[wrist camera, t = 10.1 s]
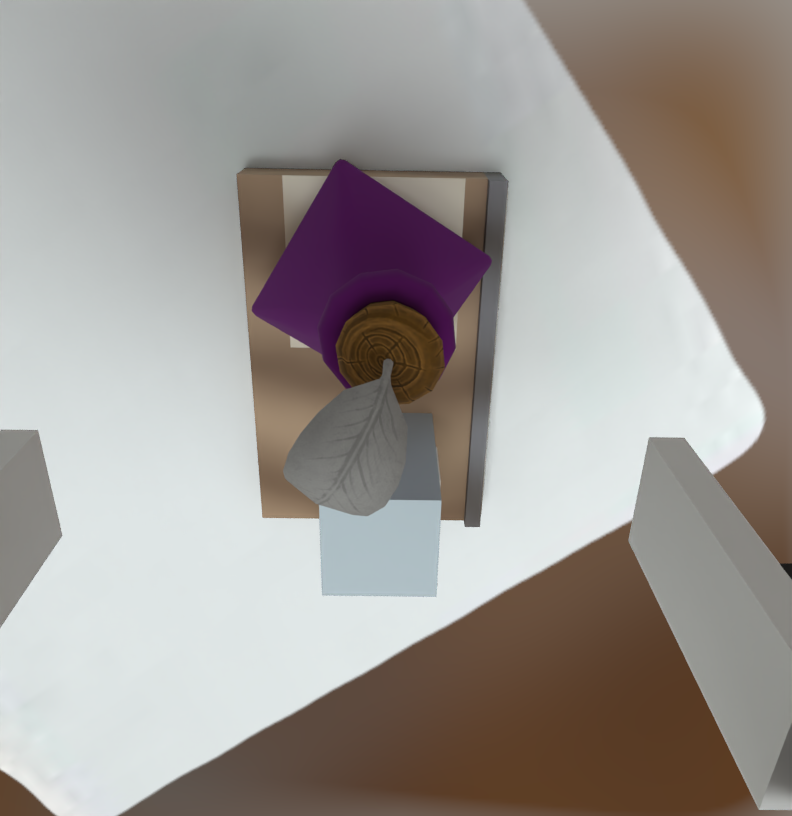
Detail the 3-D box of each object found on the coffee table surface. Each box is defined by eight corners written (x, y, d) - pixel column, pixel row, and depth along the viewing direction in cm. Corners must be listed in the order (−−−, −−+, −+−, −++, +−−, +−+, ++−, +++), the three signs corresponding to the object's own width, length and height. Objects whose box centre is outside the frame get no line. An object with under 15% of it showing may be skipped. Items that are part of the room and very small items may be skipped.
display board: (245, 167, 33) (233, 176, 31) (502, 172, 33) (510, 181, 31) (268, 497, 41) (260, 523, 39) (476, 500, 41) (481, 526, 39)
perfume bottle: (344, 146, 31) (289, 245, 15) (485, 241, 33) (576, 422, 16) (261, 289, 34) (138, 504, 17) (396, 369, 35) (398, 632, 19)
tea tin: (333, 411, 37) (318, 498, 29) (434, 413, 37) (443, 500, 29) (335, 495, 39) (322, 595, 32) (430, 496, 39) (438, 596, 32)
